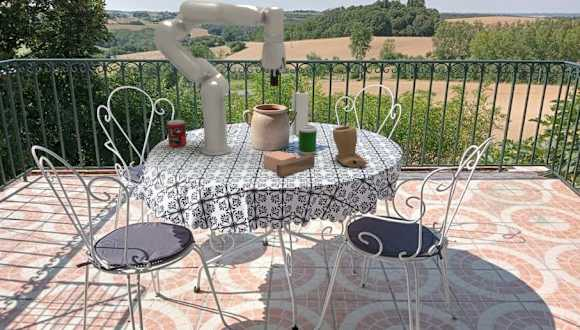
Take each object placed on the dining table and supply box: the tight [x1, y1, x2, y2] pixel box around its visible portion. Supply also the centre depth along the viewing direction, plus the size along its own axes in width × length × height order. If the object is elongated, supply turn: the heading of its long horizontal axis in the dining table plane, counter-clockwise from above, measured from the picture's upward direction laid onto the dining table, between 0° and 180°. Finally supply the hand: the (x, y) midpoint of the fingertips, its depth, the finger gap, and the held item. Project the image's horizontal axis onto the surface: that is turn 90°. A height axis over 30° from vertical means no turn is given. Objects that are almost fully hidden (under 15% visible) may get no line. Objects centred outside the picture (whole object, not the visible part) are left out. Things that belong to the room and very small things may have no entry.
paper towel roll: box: [291, 91, 310, 137], centre depth 220 cm, size 7×6×21 cm
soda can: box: [298, 124, 318, 156], centre depth 190 cm, size 8×8×12 cm
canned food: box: [166, 119, 187, 148], centre depth 202 cm, size 8×8×11 cm
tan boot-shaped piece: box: [332, 125, 368, 168], centre depth 178 cm, size 15×12×15 cm
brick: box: [263, 150, 298, 173], centre depth 173 cm, size 10×8×6 cm
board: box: [276, 154, 316, 178], centre depth 170 cm, size 3×18×4 cm, turn 136°
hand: (274, 85), depth 183 cm, fingers closed
